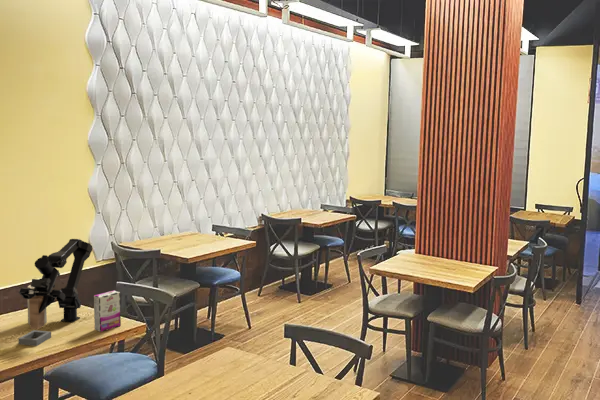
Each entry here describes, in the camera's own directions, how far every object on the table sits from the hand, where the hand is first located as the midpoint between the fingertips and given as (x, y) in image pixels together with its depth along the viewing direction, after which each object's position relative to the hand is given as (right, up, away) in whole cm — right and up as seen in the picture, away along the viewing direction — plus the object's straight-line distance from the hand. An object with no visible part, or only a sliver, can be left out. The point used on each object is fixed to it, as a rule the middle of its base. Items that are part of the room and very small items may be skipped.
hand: (35, 312), depth 246 cm
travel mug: (-10, -10, +25) cm, 29 cm away
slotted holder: (-2, -13, +3) cm, 13 cm away
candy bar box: (+24, -12, +22) cm, 34 cm away
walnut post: (0, -7, +2) cm, 7 cm away
